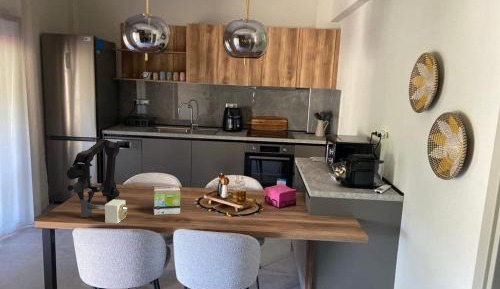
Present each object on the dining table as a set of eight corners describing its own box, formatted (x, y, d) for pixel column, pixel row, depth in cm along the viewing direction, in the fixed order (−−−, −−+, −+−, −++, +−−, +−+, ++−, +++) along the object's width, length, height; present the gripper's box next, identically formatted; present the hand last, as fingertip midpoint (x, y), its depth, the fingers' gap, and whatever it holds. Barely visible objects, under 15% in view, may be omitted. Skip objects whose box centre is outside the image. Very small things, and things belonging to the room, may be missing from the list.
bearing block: (114, 216, 218) (113, 199, 217) (125, 217, 218) (125, 200, 216) (105, 222, 209) (104, 204, 207) (117, 223, 208) (117, 205, 206)
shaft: (85, 214, 217) (84, 197, 216) (128, 217, 214) (128, 200, 212) (81, 216, 213) (80, 199, 212) (125, 220, 210) (125, 202, 209)
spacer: (125, 215, 216) (125, 202, 215) (127, 215, 216) (127, 202, 215) (119, 220, 209) (119, 207, 208) (121, 220, 209) (121, 207, 207)
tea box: (154, 215, 221) (153, 191, 219) (153, 210, 231) (153, 186, 228) (180, 213, 225) (180, 189, 223) (178, 208, 235) (178, 185, 232)
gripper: (60, 178, 205) (61, 206, 207) (92, 179, 202) (94, 208, 205) (72, 173, 215) (73, 199, 218) (103, 174, 213) (104, 201, 216)
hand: (86, 202), depth 214 cm, fingers closed on shaft, 4 cm apart
